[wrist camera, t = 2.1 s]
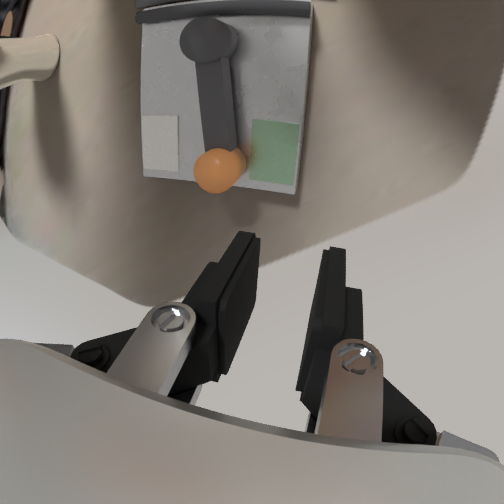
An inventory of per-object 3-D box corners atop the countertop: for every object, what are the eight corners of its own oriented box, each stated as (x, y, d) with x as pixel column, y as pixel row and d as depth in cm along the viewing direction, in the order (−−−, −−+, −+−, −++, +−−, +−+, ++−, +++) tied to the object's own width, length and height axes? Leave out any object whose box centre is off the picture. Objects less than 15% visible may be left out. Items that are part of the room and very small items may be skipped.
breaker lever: (191, 26, 20) (173, 20, 17) (235, 18, 19) (222, 10, 16) (208, 181, 26) (194, 193, 24) (250, 181, 25) (239, 193, 23)
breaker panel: (155, 11, 21) (141, 8, 20) (313, 5, 19) (311, -2, 17) (154, 170, 30) (141, 177, 28) (297, 187, 27) (294, 195, 25)
